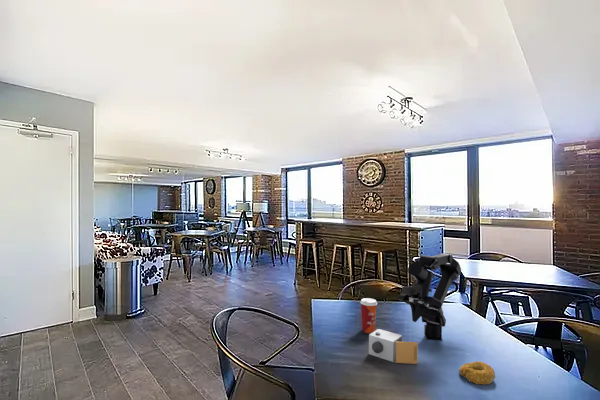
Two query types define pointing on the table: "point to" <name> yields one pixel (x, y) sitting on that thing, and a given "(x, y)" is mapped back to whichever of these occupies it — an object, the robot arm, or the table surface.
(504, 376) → the table surface
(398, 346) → the side door
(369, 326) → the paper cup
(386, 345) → the white block
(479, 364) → the bagel
